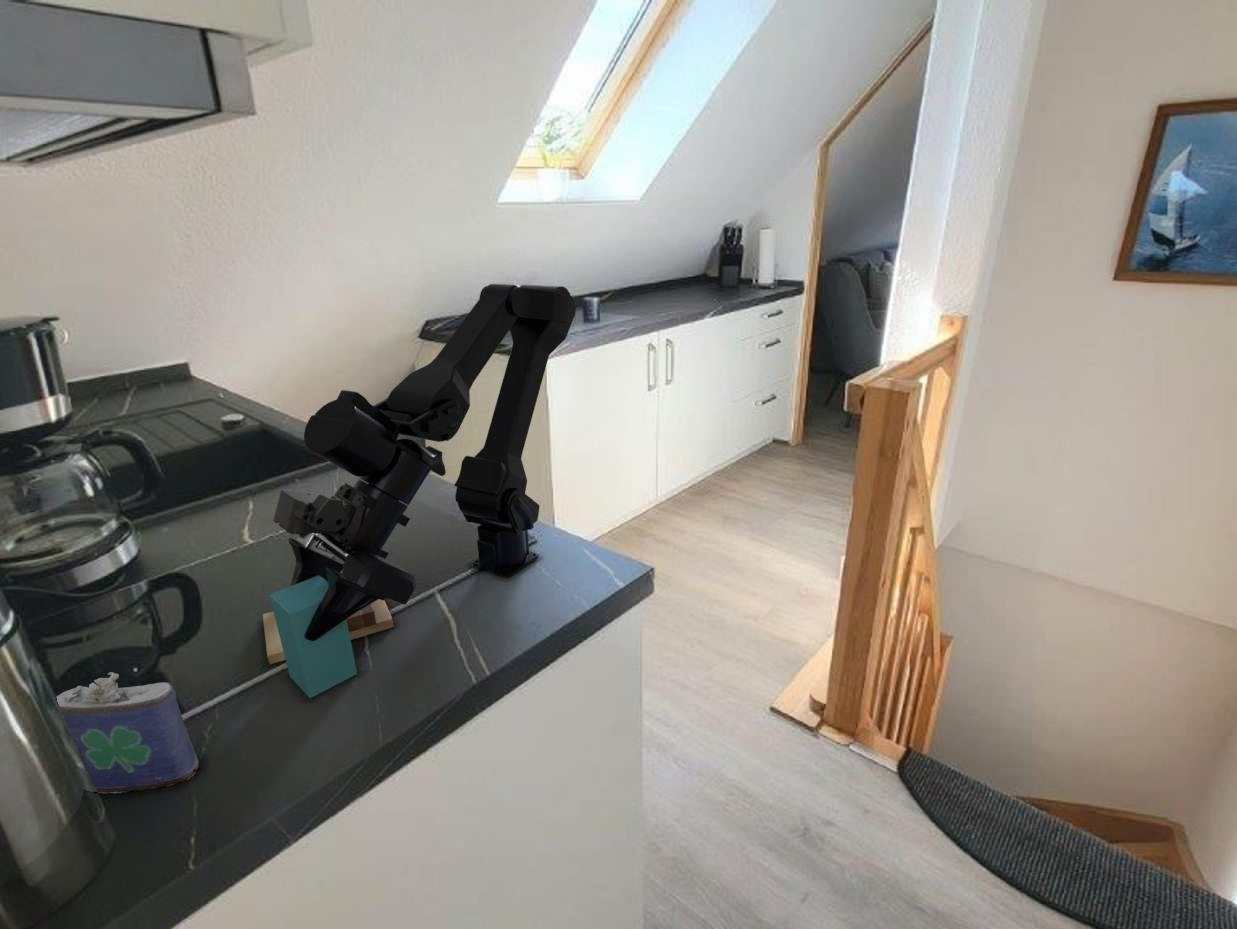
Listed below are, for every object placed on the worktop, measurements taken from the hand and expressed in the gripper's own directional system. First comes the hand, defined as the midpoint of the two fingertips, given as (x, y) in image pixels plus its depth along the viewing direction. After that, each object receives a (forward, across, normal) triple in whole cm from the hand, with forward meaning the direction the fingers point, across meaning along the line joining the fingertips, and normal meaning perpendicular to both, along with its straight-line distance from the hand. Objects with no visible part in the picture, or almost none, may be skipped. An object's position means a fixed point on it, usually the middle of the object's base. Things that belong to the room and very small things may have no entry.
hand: (297, 628), depth 65 cm
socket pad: (+1, -8, +9) cm, 12 cm away
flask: (+16, +1, -6) cm, 17 cm away
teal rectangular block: (+4, 0, +6) cm, 7 cm away
